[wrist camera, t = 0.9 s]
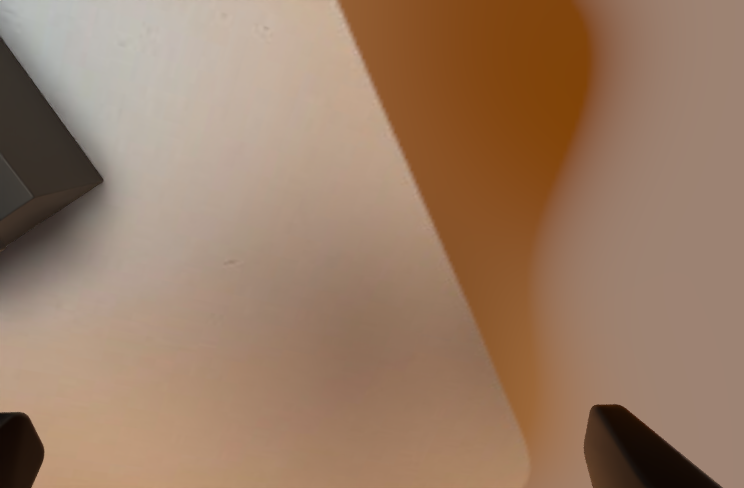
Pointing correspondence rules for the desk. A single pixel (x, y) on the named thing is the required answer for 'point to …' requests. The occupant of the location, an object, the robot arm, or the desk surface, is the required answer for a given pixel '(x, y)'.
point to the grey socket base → (34, 156)
